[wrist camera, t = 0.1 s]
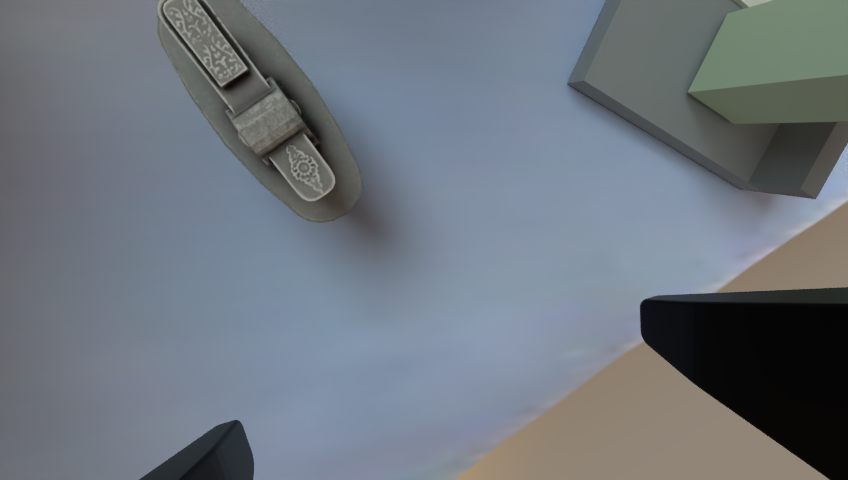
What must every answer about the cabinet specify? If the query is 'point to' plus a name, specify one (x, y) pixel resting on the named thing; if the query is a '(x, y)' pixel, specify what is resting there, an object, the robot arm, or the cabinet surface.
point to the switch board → (686, 115)
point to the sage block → (779, 64)
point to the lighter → (261, 105)
